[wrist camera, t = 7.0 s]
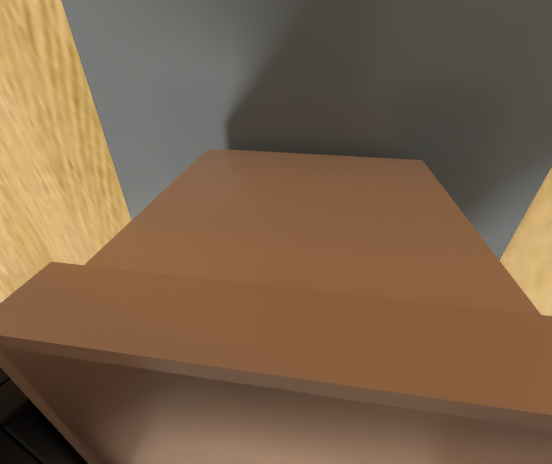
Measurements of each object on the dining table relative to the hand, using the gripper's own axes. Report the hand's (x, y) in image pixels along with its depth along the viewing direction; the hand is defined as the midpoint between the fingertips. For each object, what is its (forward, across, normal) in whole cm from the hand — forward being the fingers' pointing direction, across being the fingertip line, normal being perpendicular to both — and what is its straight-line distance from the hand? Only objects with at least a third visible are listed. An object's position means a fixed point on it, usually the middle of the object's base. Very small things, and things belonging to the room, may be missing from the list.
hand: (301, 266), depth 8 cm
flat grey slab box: (+4, 0, 0) cm, 4 cm away
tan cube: (+1, 0, 0) cm, 1 cm away
